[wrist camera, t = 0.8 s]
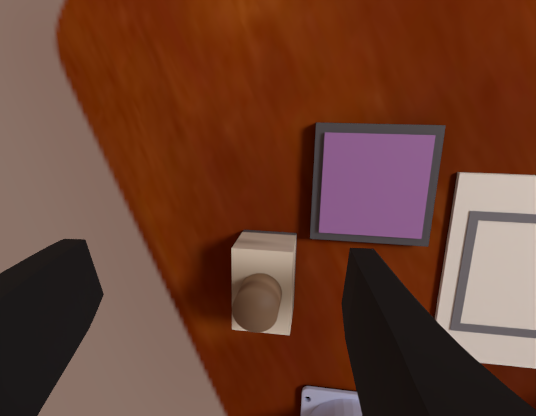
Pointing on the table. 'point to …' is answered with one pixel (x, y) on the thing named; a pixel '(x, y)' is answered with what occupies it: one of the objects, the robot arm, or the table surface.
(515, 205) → the stamp board
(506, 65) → the table surface
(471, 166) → the table surface
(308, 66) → the table surface
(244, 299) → the stamp
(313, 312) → the table surface
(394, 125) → the ink pad
